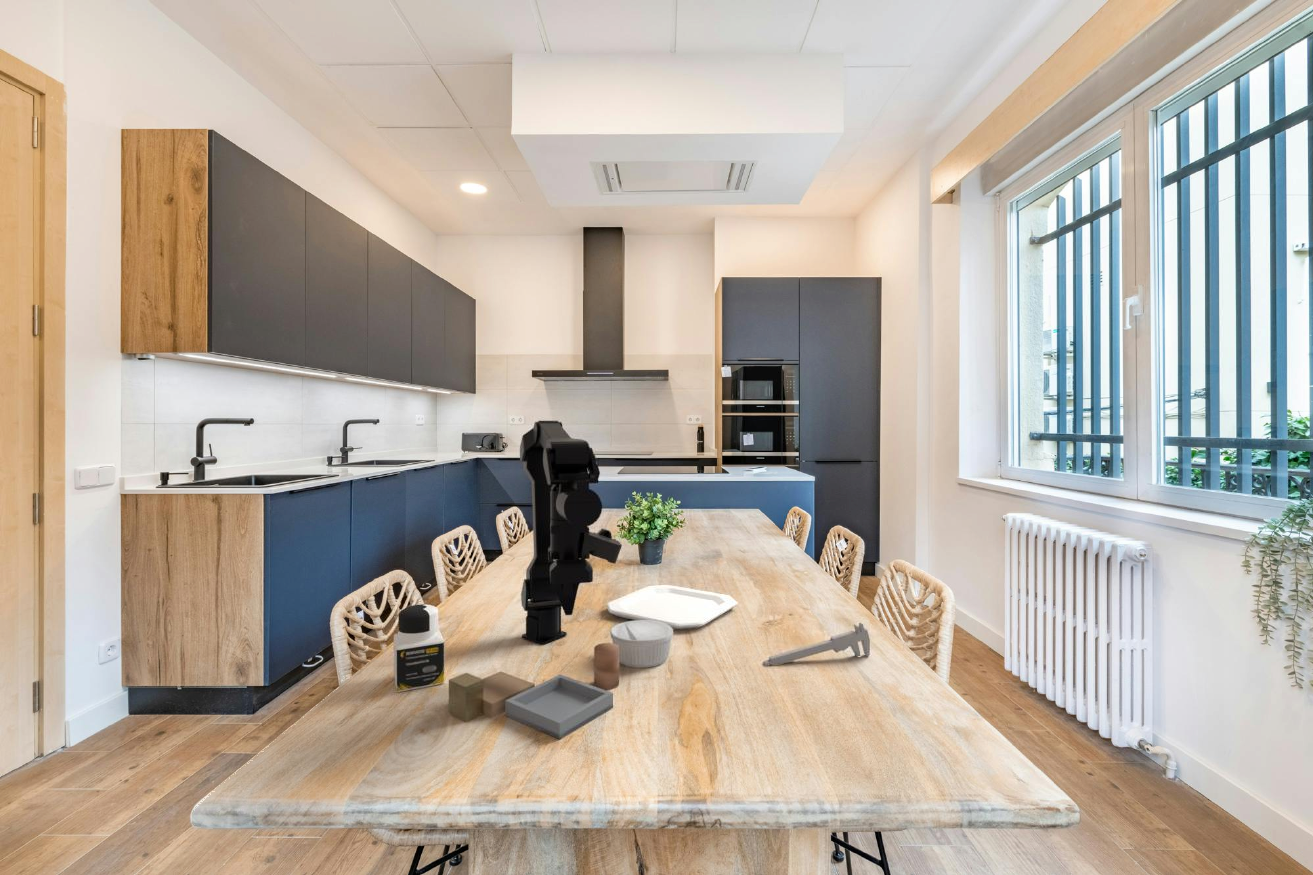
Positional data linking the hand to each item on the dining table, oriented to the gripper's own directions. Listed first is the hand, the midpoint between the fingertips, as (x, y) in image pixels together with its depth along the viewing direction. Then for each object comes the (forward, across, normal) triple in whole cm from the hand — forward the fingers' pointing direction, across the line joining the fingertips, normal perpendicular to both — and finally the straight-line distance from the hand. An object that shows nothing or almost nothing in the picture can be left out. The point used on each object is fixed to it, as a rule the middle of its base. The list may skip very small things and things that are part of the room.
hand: (568, 614), depth 95 cm
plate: (+12, +34, -25) cm, 44 cm away
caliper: (+12, +1, -44) cm, 46 cm away
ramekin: (+12, +8, -14) cm, 20 cm away
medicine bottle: (+11, +6, +24) cm, 27 cm away
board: (+12, -3, +11) cm, 17 cm away
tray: (+11, -9, +2) cm, 15 cm away
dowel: (+11, -1, -6) cm, 13 cm away
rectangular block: (+11, -7, +15) cm, 20 cm away
